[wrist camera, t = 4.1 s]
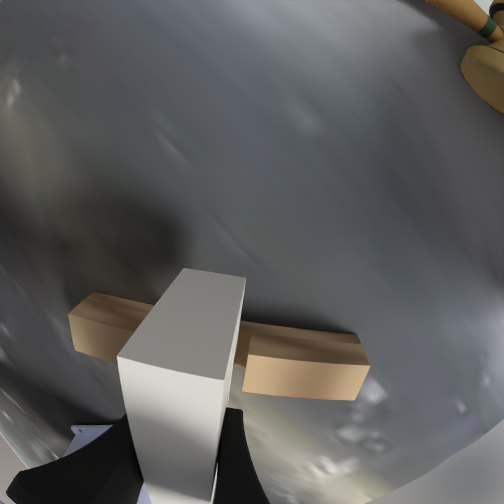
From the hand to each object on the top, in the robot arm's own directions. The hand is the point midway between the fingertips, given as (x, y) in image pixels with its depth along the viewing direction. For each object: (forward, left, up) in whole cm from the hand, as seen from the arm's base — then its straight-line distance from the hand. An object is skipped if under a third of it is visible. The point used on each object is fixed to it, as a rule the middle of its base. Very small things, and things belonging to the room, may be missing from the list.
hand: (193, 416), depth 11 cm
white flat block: (0, 0, -3) cm, 3 cm away
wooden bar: (0, 0, -6) cm, 6 cm away
